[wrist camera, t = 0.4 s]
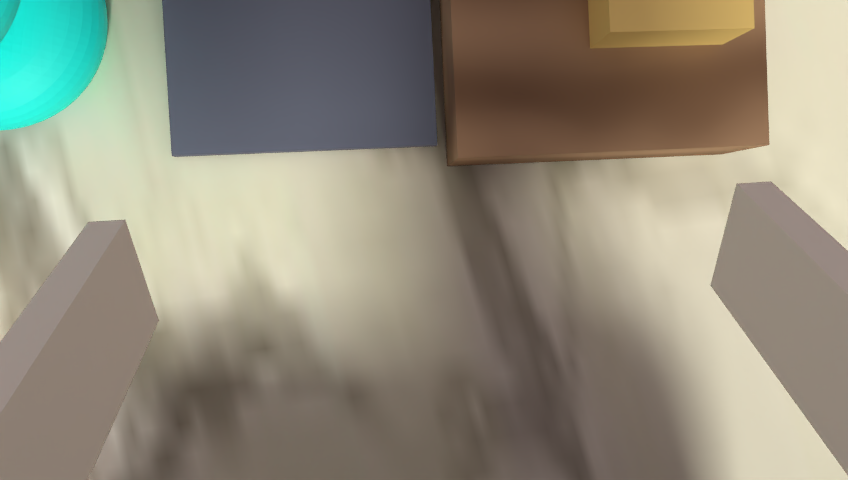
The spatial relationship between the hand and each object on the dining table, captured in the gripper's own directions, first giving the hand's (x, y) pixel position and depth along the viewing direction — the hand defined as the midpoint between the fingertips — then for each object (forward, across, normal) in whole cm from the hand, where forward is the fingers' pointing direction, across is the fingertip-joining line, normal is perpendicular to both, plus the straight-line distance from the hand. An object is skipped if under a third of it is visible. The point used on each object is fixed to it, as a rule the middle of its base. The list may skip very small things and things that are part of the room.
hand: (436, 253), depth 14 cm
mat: (+21, +5, -2) cm, 22 cm away
